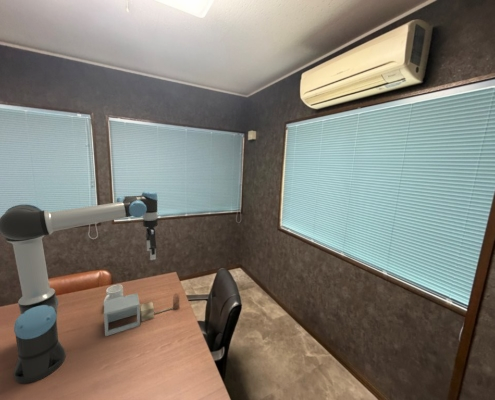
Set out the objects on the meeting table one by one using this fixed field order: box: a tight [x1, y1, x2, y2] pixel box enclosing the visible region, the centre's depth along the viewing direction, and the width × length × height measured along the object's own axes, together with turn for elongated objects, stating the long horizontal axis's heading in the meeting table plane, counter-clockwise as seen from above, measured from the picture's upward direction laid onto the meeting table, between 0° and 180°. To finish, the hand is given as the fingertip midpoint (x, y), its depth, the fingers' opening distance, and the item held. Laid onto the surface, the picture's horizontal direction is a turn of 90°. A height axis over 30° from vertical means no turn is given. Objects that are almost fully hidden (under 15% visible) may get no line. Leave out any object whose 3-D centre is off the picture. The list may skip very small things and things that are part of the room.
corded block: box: [139, 293, 180, 322], centre depth 122 cm, size 20×6×8 cm, turn 121°
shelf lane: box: [103, 292, 141, 337], centre depth 112 cm, size 15×11×12 cm
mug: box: [103, 284, 124, 307], centre depth 125 cm, size 12×8×10 cm
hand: (151, 254), depth 124 cm, fingers open, 13 cm apart
